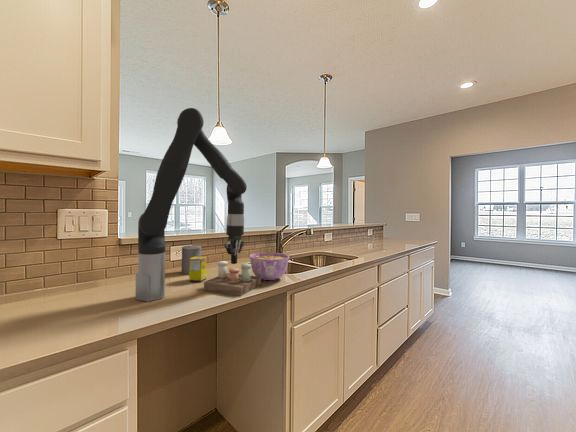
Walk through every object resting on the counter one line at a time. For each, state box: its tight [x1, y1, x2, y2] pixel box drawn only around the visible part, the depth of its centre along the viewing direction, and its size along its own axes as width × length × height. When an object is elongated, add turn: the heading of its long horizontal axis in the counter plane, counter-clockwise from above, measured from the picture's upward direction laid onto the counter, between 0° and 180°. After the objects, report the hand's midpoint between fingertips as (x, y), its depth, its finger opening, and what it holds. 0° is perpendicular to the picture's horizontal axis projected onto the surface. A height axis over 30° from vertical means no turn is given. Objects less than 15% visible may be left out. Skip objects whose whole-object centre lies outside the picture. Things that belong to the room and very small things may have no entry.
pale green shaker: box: [240, 263, 252, 282], centre depth 119 cm, size 4×4×7 cm
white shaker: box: [217, 260, 229, 279], centre depth 123 cm, size 4×4×7 cm
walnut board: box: [203, 272, 262, 297], centre depth 121 cm, size 18×18×4 cm
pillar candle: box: [181, 244, 202, 275], centre depth 145 cm, size 10×10×15 cm
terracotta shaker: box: [228, 267, 240, 281], centre depth 121 cm, size 4×4×7 cm
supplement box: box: [188, 256, 207, 283], centre depth 130 cm, size 6×6×11 cm
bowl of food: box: [249, 251, 290, 281], centre depth 137 cm, size 20×20×12 cm
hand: (233, 263), depth 120 cm, fingers closed
